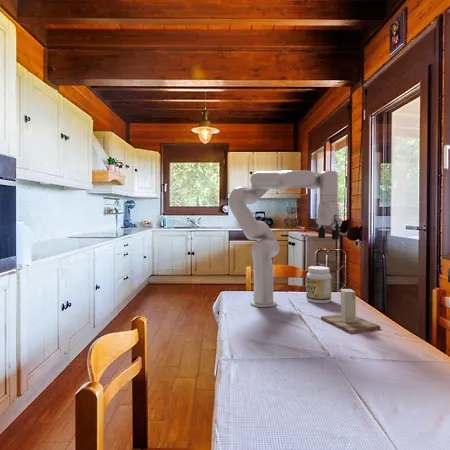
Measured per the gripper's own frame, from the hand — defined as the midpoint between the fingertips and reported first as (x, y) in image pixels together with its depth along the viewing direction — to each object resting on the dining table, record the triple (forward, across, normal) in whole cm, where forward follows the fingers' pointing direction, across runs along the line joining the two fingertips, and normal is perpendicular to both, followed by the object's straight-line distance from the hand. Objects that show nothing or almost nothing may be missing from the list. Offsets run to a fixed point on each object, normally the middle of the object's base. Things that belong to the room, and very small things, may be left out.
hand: (328, 238), depth 147 cm
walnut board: (+33, +15, -1) cm, 36 cm away
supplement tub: (+33, -20, +9) cm, 40 cm away
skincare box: (+32, +14, -1) cm, 35 cm away
